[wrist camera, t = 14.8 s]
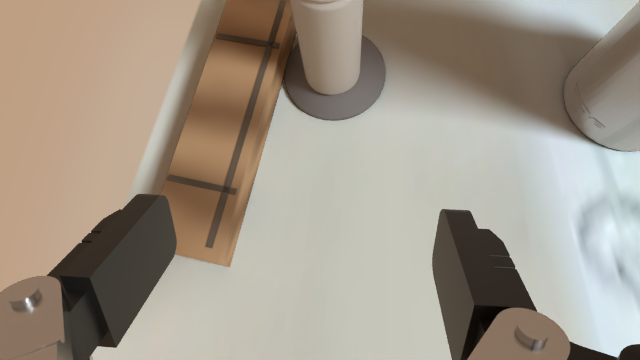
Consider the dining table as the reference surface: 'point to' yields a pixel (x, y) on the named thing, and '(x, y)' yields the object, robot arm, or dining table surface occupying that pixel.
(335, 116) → the end pad
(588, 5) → the dining table surface
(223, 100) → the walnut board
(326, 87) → the beverage can
